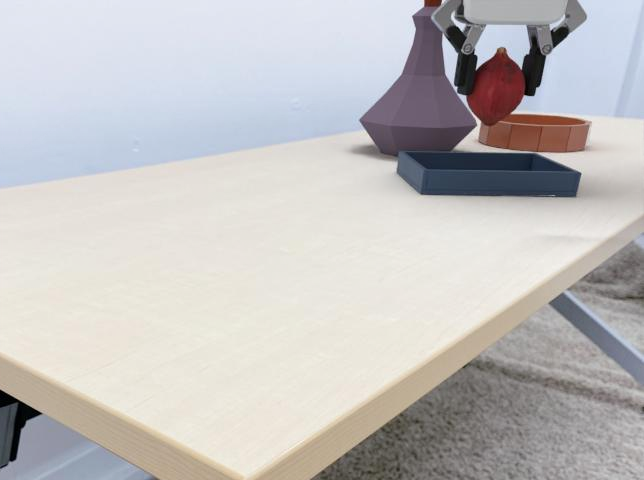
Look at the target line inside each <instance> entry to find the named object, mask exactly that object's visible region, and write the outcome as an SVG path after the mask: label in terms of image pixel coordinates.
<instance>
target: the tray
mask: <svg viewBox="0 0 644 480" xmlns="http://www.w3.org/2000/svg"><path fill="white" fill-rule="evenodd" d="M396 173H397V175H399V176H400V177H401V178H402V179H403V180H404V181H405V182H407V183H408V184H409V186H411V187H412V188H413V189H414V190H415V191H417V192H418V193H419V194H420V195H441V196H442V195H446V196H449V195H450V196H455V195H456V196H501V195H555V196H554V197H561V196H573V197H572V198H576V197H577V195H578V190H579V187H580V182H581V177H582V172H580V171H578V170H576V169H574V168H572V167H570V166H567V165H565V164H563V163H560V162H559V161H555V160H553V159H551V158H549V157H547V156H544V155H542V154H539V153H538V152H501V151H499V152H496V151H495V152H494V151H492V152H491V151H450V152H432V151H399V155H398V156H397V163H396ZM468 194H469V195H468ZM574 196H575V197H574Z"/></svg>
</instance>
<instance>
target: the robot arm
mask: <svg viewBox="0 0 644 480" xmlns="http://www.w3.org/2000/svg"><path fill="white" fill-rule="evenodd" d="M452 14H453V18H454V20H455V21H457V22H458V23H461V24H465V25H464V27H463V29H462V30H461V28H460V27H459V26H457V25H456V23H455V22H454V20H453V19H452ZM563 17H564V18H563ZM431 19H432V21H433V22H434V23H435V25H436V26H437V27H438V28H439V29H440V30H441V31H442V32H443V36H444V38H445V39H446V40H447V41H448V42H449V44H450V45H451V47H452V48H453V49H454V52H455V53H457V57H456V65H455V72H454V78H453V85H454V86H453V87H456V93H457V95H458V94H459V95H460V96H461V95H462V96H466V95H470V94H472V91H473V85H474V79H475V72H476V70H477V66H478V59H479V57H478V55H477V54H476V46H477V44H478V42H479V41H480V38H481V37H482V35H483V33H484V31H485V29H486V27H487V26H490V25H493V26H497V25H498V26H526V31H527V37H528V38H527V39H528V43H529V52H528V53H525V55H523V59H522V65H521V70H522V73H523V75H524V79H525V93H524V97H525V96H526V97H535V96H536V92H537V88H538V89H539V88H540V87H541V84H542V81H543V74H544V72H545V71H544V69H545V65H546V60H547V56H549V55H550V54H551V53H552V52H553V51H554V49H555V48H556V47H558V45H560V44H561V43H562V42H563V41H564V40H565V39H567V38H568V37H569V34H571V33H573V32H574V31H576V29H578V28H580V27H581V26H582V25H583V24H584V23H585V22H586V21H587V19H588V14H587V13H586V11H585V10H584V8H583V6H582V5H581V3H580V2H579V0H444V1H443V2H442V3H441V6H440V7H438V8H437V9H436V10H435V11H434V12H433V14H432V15H431ZM562 19H563V20H562ZM561 20H562V21H561ZM560 21H561V22H560ZM558 22H560V23H559V24H558V25H556V26H554V27H553V28H552V29H551V26H550V25H553V24H555V23H558Z"/></svg>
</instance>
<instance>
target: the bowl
mask: <svg viewBox="0 0 644 480" xmlns="http://www.w3.org/2000/svg"><path fill="white" fill-rule="evenodd" d="M592 127H593V121H590V120H587V119H585V118H584V119H583V118H580V117H572V116H566V115H565V116H564V115H555V114H540V113H511V114H509V115H508V116H507V117H505V118H504V119H502V120H501V121H499V122H498V123H496V124H495V125H493V126H485V125H484V124H483V123H482V122H481V121H480V126H479V131H478V132H479V133H478V139H477V141H478V142H479V143H482V144H483V145H485V146H490V147H495V148H501V149H505V150H514V151H527V152H535V153H539V152H541V153H567V152H578V151H585V150H586V148H587V147H588V145H589V141H590V135H591V132H592Z"/></svg>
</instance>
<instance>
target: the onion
mask: <svg viewBox="0 0 644 480" xmlns="http://www.w3.org/2000/svg"><path fill="white" fill-rule="evenodd" d="M524 93H525V79H524V75H523V73H522V68H521V67H520V66H519V64H518V63H517V62H516V61H515V60H513V59H512V58H511V57H510V56H509V54H508V50H507V49H506V47H505V46H500V47H497V48H496V52H495V53H494V54H493V56H492V57H490V58H488V60H486V61H484V62H483V63H481V65H479V66H478V67H477V68H476V72H475V79H474V85H473V91H472V94H470V95H465V98H466V99H465V100H466V103H467V106H468V109H469V111H470V112H471V113H472V115H473V116H474V117H476V118H477V119H478V120H479V121H480V123H481V122H482V123H483V124H484V125H485V126H493V125H495V124H496V123H498V122H499V121H501V120H502V119H504V118H505V117H507V116H508V115H509V114H513V113H514V111H516V109H517V108H518V107H519V105H520V104H521V103H522V101H523V99H524V97H525V95H524Z"/></svg>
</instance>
